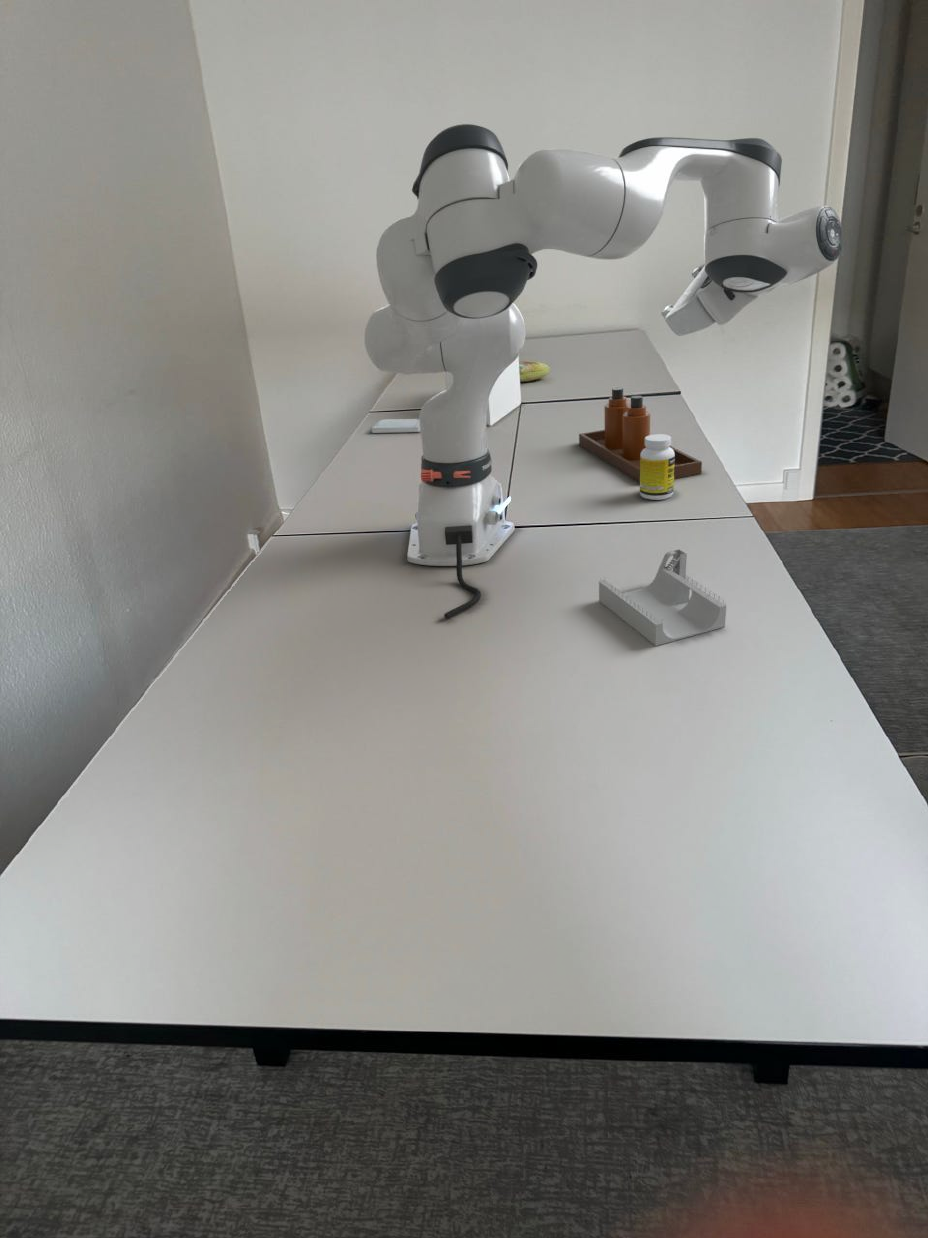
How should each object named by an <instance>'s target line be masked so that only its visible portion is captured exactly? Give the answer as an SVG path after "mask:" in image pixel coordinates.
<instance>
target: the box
mask: <svg viewBox="0 0 928 1238" xmlns="http://www.w3.org/2000/svg"><path fill="white" fill-rule="evenodd" d="M519 362H520V355H519V356H518V357H517V358H516V360H515V361H514V362H513V363H512V364H510V365H509V366H508V367H507V368H506V369H505V370H504V371H503V372H502V374H501V375H500V376H499V378H498V379H497V380H496V382H495V384H494V386H493V388H492V390H491V393H490V396H489V399H488V404H487V412H486V426H490V427H492V426H493V425H494V424H495V423H497V422H498V421H500V420H501V419H502V418H504V417H505V416H506V415H508V414H509V413H511V412H512V411H514V410H515V409H516V408H517V407H519V406H520V405H521V404H522V397H521V396H522V395H521V394H522V393H521V392H522V391H521V382H520V373H519ZM444 381H445V389H447V388H448V387H449V386H450V385H451V384H452V383H453V375H452V373H450V372H444Z"/></svg>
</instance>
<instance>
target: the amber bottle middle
mask: <svg viewBox="0 0 928 1238" xmlns="http://www.w3.org/2000/svg"><path fill="white" fill-rule="evenodd" d="M643 400H644V398H643V396H642V395H632V396H630V404H631V405H630V406H628V407H627V412H625V413H624V414H623V458H625V459H629V460H640V454H641V452H642V450H643V449H645V448H646V446H645V437H646V436H649V435H651V412H650V411H647V406H646V405H645V404H644V403H643V402H644V401H643Z"/></svg>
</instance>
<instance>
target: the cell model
mask: <svg viewBox="0 0 928 1238" xmlns="http://www.w3.org/2000/svg"><path fill="white" fill-rule="evenodd" d="M550 371H551V369H550V367H549V365H547V364H545V363H542V362H538V361H530V360H525V361H519V373H520V383H522V382H523V383H524V382H532V381H536V380H540V379H542V378H545V377H547V376H548V375H549V373H550Z"/></svg>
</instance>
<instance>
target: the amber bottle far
mask: <svg viewBox="0 0 928 1238" xmlns="http://www.w3.org/2000/svg"><path fill="white" fill-rule="evenodd" d="M627 400H628V399H627V397H626V396H624V387H622V386H621V387H619V386H618V387H613V388H611V396H610V397H608V402H607V403H606V404H604V406H603V407H604V430H605V447H606V448H609V449H623V414H624V413H625V412H627V407H628V406H630V405H631V402H628V401H627Z"/></svg>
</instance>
